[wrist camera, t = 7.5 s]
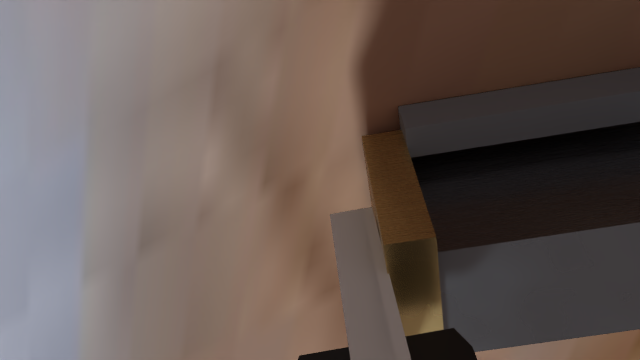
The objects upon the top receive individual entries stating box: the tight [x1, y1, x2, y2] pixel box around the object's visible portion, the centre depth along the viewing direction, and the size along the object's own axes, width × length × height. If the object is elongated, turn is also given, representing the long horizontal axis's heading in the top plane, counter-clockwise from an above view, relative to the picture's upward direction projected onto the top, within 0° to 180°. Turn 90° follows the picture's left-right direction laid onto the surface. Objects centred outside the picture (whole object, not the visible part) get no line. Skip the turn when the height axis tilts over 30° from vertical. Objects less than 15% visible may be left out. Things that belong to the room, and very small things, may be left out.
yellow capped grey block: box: [362, 122, 640, 352], centre depth 14 cm, size 7×4×4 cm, turn 99°
